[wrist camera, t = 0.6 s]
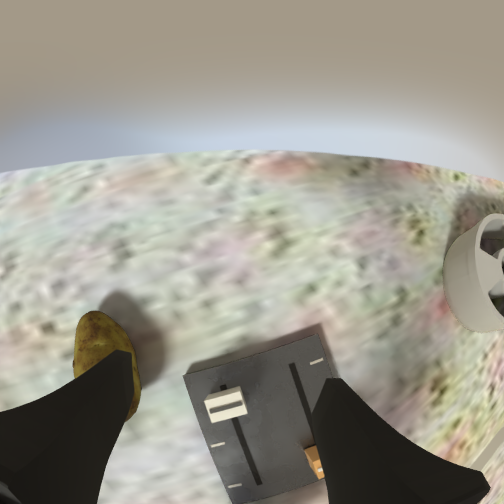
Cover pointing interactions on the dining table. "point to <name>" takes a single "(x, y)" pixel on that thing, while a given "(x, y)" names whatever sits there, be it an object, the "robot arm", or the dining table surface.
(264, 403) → the console
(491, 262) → the grey compartment organizer
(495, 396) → the dining table surface
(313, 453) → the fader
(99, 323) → the potato
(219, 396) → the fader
